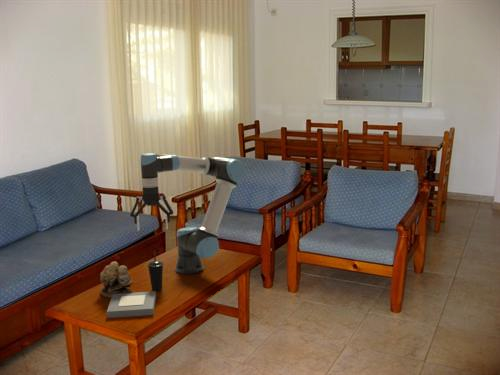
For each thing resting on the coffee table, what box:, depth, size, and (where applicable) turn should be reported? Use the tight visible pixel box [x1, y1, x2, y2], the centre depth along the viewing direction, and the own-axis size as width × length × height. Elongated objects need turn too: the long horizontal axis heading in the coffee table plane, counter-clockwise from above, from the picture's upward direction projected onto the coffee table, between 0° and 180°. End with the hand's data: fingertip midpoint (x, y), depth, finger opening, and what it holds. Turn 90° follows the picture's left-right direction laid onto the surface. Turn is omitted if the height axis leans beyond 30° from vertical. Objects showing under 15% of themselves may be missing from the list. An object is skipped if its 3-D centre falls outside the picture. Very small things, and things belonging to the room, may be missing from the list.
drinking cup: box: [146, 250, 164, 293], centre depth 269 cm, size 8×8×20 cm
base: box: [106, 291, 157, 319], centre depth 251 cm, size 20×20×3 cm
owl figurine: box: [99, 261, 134, 300], centre depth 266 cm, size 18×12×17 cm, turn 71°
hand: (152, 229), depth 265 cm, fingers open, 13 cm apart
